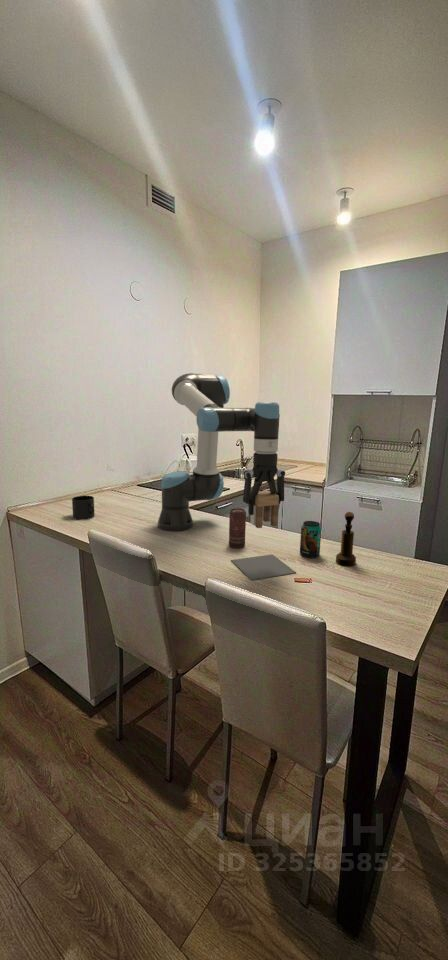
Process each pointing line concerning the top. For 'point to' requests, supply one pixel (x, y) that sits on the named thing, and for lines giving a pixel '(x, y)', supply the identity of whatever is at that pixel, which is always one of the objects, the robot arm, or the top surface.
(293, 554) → the top surface
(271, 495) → the stool
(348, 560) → the dark brown chess piece
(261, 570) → the mat
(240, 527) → the can
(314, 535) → the beverage can
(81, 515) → the mug
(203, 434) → the robot arm
